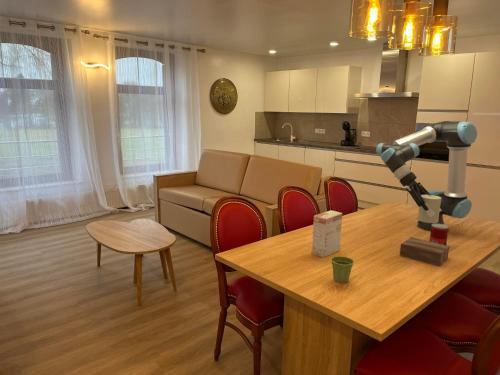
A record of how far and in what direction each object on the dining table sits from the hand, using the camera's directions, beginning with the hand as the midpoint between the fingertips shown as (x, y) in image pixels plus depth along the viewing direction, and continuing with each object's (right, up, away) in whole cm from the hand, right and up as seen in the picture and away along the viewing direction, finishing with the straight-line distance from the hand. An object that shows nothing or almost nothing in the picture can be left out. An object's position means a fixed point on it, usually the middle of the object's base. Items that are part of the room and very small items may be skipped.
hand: (436, 214), depth 174 cm
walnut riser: (-3, -21, +7) cm, 22 cm away
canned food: (+12, -19, +23) cm, 32 cm away
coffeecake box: (-50, -20, +10) cm, 54 cm away
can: (-3, -3, +3) cm, 5 cm away
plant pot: (-50, -26, -21) cm, 60 cm away
